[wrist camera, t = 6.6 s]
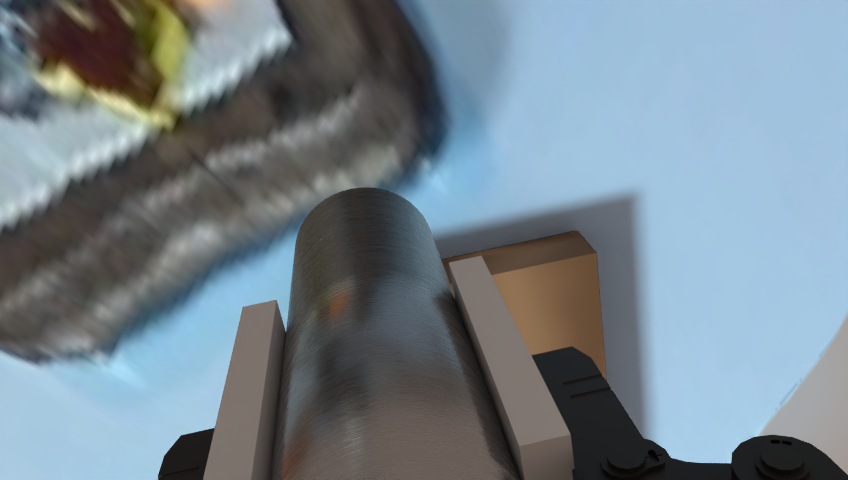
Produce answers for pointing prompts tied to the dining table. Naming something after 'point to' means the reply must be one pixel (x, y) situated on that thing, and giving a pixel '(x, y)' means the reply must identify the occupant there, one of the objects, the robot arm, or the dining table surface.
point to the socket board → (549, 292)
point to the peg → (380, 355)
